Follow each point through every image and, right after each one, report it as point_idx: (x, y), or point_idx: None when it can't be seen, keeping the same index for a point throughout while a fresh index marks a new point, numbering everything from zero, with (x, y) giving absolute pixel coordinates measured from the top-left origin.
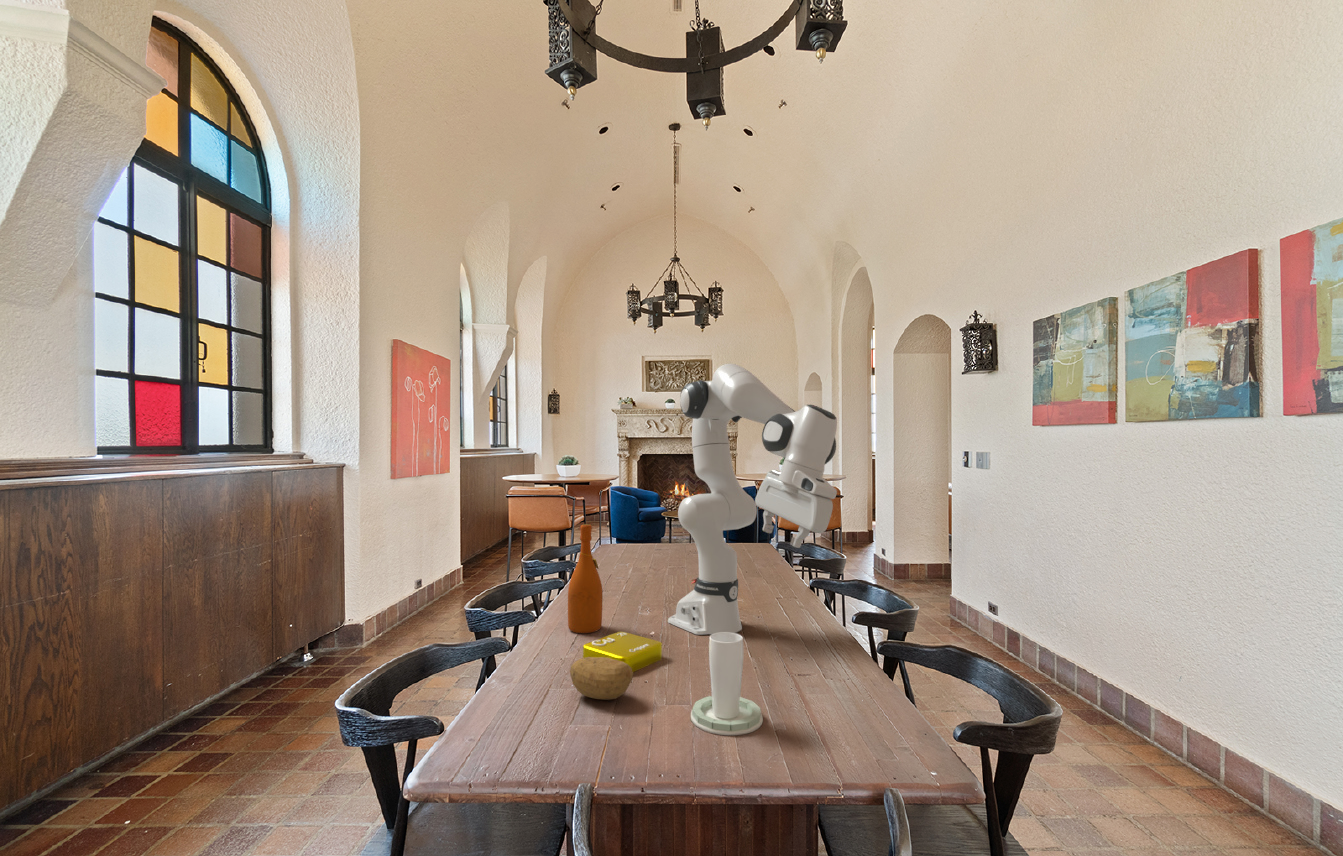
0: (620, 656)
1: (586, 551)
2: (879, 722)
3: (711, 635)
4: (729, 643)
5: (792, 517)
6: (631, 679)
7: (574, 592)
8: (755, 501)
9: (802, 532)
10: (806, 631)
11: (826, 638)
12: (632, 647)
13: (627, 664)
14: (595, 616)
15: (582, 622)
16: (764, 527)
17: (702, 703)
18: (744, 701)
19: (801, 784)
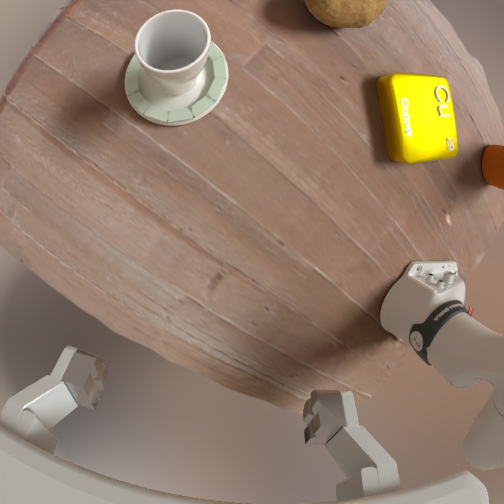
0: (396, 75)
1: None
2: (56, 242)
3: (203, 24)
4: (142, 25)
5: (53, 487)
6: (316, 15)
7: None
8: (479, 482)
9: (8, 402)
10: (318, 385)
11: (285, 389)
12: (413, 113)
13: (329, 5)
14: (495, 166)
15: (493, 150)
16: (342, 404)
17: (212, 59)
18: (176, 111)
19: (28, 62)
